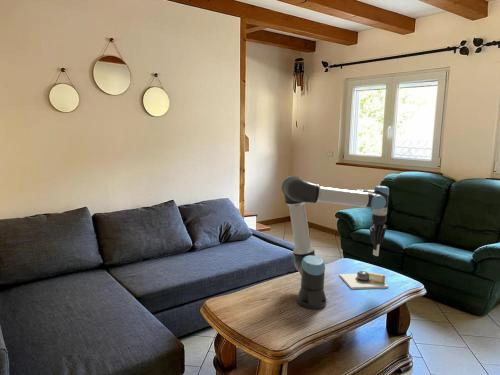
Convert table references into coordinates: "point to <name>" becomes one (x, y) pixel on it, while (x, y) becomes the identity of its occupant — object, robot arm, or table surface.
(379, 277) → the peg dial
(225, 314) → the table surface
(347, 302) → the table surface
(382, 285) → the board
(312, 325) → the table surface
